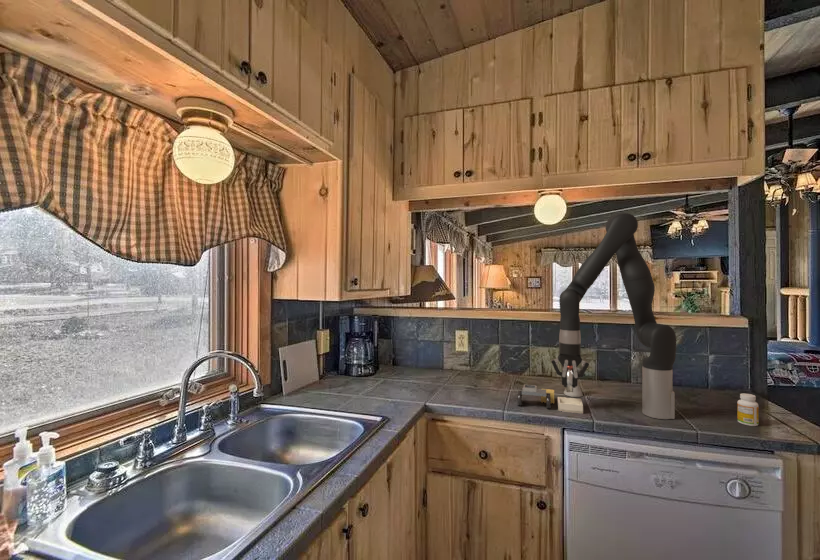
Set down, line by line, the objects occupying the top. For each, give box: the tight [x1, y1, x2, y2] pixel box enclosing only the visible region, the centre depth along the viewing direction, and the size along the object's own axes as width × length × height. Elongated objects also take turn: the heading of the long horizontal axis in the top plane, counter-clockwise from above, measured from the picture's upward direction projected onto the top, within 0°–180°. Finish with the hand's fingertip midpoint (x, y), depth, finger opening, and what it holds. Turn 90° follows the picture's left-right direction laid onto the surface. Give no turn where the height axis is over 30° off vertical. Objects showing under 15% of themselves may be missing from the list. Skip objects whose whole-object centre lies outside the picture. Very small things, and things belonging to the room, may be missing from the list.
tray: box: [557, 396, 584, 414], centre depth 144 cm, size 8×8×3 cm
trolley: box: [517, 384, 552, 410], centre depth 149 cm, size 12×8×7 cm, turn 71°
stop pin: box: [565, 366, 574, 392], centre depth 144 cm, size 4×4×10 cm
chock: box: [540, 388, 555, 405], centre depth 154 cm, size 5×4×4 cm
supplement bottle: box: [736, 393, 760, 427], centre depth 130 cm, size 5×5×10 cm
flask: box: [563, 380, 584, 398], centre depth 162 cm, size 7×7×10 cm
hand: (569, 386), depth 144 cm, fingers closed on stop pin, 2 cm apart
